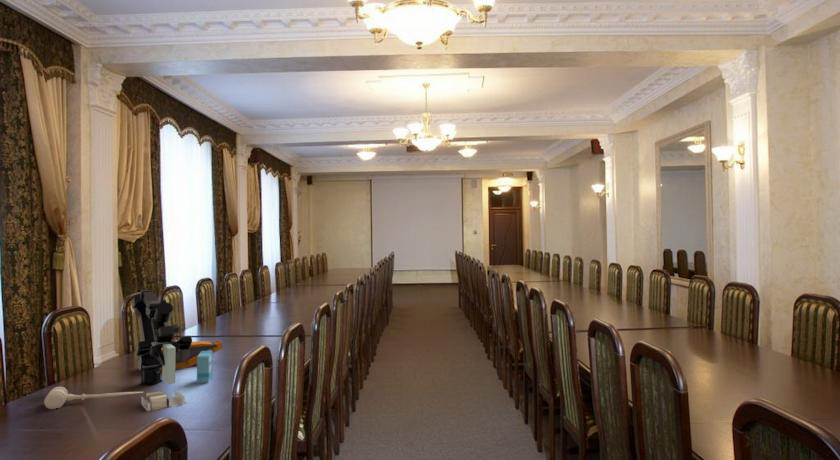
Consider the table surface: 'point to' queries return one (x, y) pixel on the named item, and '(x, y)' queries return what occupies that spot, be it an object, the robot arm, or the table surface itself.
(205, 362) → the data package
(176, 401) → the rack
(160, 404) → the offcut lower
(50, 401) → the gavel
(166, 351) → the pale green slab
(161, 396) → the offcut upper
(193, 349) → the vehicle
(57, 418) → the table surface
